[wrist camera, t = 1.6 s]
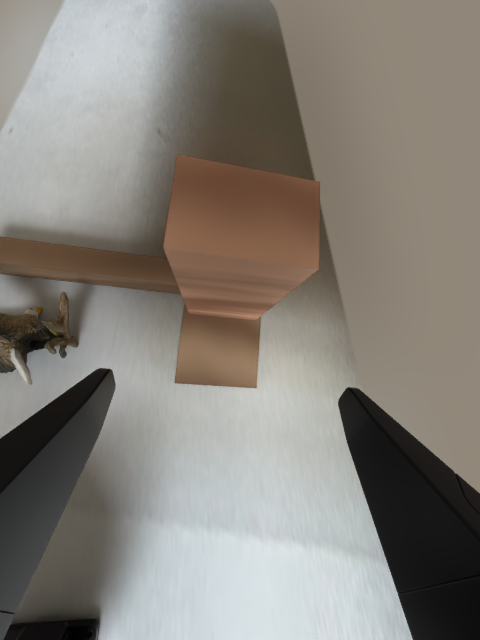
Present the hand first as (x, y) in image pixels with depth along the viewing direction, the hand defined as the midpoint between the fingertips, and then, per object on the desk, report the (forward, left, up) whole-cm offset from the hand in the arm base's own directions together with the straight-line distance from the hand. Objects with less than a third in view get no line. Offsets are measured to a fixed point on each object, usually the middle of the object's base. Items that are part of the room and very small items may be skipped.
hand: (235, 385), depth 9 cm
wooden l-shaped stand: (+4, +8, -12) cm, 15 cm away
